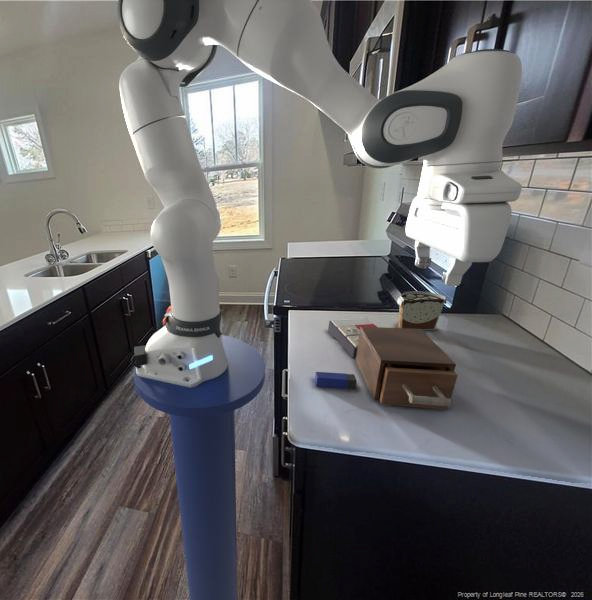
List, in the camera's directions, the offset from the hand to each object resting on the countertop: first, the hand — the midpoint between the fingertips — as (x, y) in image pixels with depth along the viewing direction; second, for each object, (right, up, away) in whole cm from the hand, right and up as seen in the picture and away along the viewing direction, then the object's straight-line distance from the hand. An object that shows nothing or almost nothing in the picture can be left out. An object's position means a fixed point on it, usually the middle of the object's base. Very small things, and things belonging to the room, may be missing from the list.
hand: (434, 275), depth 52 cm
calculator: (+6, -16, +34) cm, 38 cm away
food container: (+25, -12, +42) cm, 50 cm away
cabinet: (+5, -22, +18) cm, 29 cm away
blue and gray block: (-8, -23, +18) cm, 30 cm away
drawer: (+4, -23, +13) cm, 27 cm away
